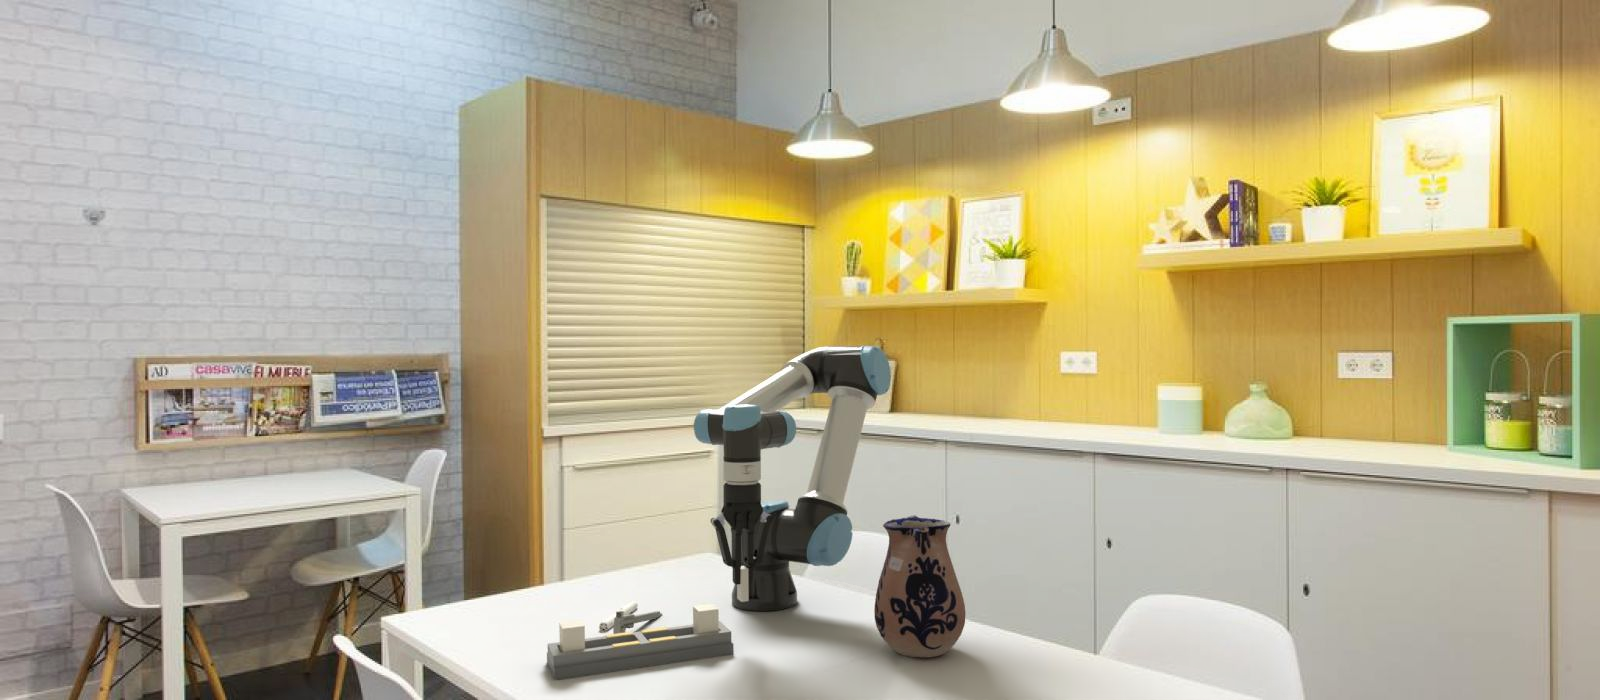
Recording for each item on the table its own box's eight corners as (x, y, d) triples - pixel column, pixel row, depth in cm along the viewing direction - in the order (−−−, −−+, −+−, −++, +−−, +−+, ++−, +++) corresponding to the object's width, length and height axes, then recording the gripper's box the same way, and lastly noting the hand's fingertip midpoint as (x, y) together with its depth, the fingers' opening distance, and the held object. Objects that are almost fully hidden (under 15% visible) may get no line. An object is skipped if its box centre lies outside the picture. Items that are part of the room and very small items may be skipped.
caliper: (618, 644, 193) (617, 613, 193) (613, 644, 193) (612, 613, 193) (662, 616, 212) (662, 588, 212) (658, 615, 212) (657, 587, 212)
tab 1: (581, 651, 181) (580, 620, 181) (585, 658, 177) (584, 625, 177) (559, 654, 179) (559, 622, 179) (563, 661, 176) (562, 628, 176)
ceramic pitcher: (887, 669, 176) (885, 534, 175) (862, 634, 196) (860, 513, 196) (978, 663, 178) (977, 529, 178) (944, 629, 199) (942, 509, 199)
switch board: (717, 638, 195) (717, 618, 195) (733, 653, 185) (733, 632, 185) (546, 662, 182) (546, 640, 181) (554, 680, 172) (554, 656, 172)
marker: (632, 607, 219) (632, 597, 219) (640, 608, 219) (640, 598, 219) (598, 631, 202) (598, 620, 202) (608, 632, 201) (608, 621, 201)
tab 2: (712, 633, 191) (712, 603, 191) (718, 639, 187) (718, 609, 187) (693, 636, 189) (693, 606, 189) (699, 642, 186) (698, 611, 186)
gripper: (716, 486, 185) (717, 608, 185) (779, 482, 190) (779, 600, 190) (705, 481, 192) (706, 598, 192) (766, 477, 197) (766, 592, 197)
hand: (742, 599), depth 191 cm, fingers closed
